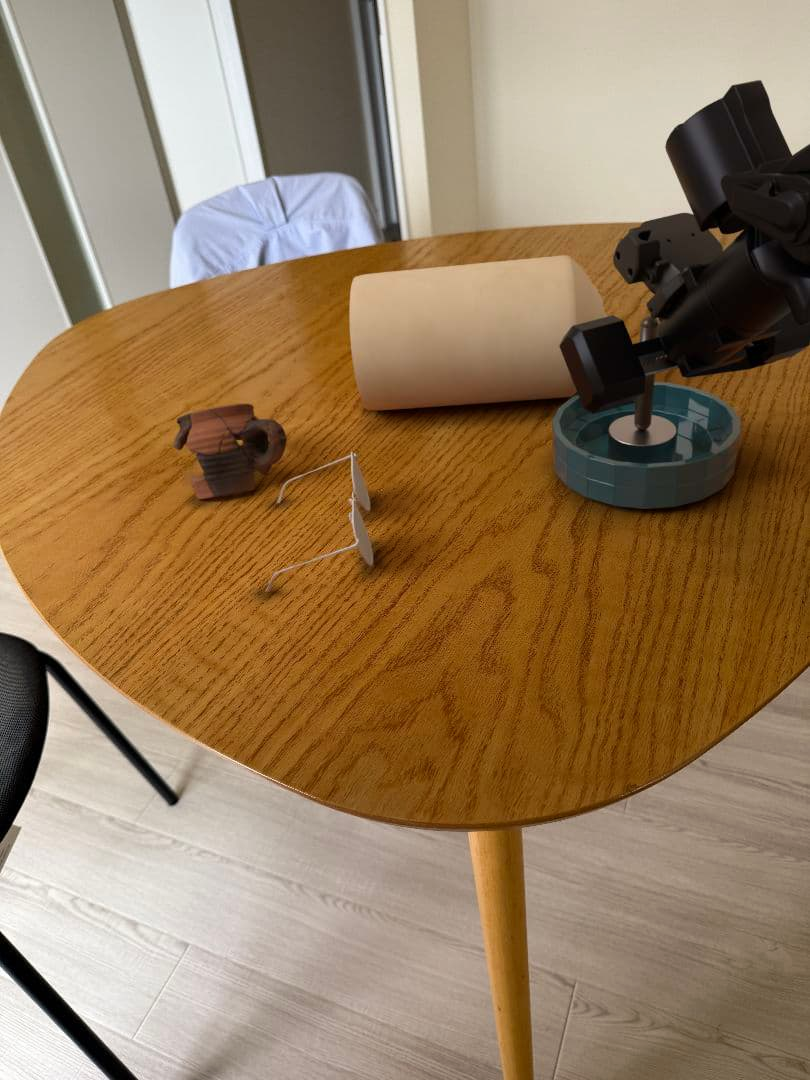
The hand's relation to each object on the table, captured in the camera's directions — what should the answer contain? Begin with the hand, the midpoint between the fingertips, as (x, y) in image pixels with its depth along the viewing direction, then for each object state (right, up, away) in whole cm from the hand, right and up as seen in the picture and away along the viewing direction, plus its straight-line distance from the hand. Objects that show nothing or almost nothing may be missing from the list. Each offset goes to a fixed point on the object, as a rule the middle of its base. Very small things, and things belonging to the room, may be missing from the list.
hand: (637, 385), depth 66 cm
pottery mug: (-36, -7, +10) cm, 38 cm away
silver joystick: (+1, -6, +3) cm, 7 cm away
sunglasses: (-27, -13, 0) cm, 30 cm away
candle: (-11, +2, +18) cm, 21 cm away
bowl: (+1, -6, +3) cm, 7 cm away
